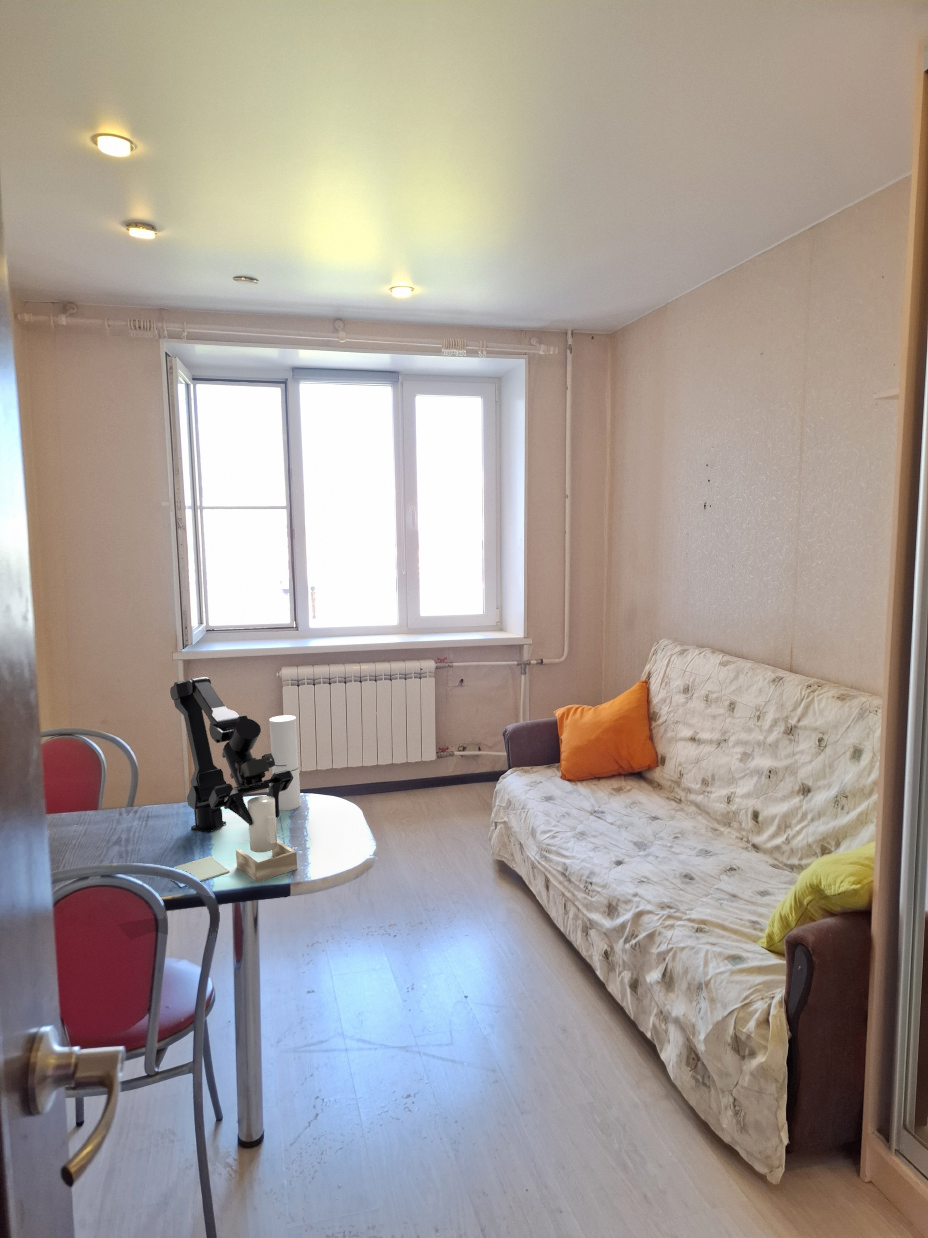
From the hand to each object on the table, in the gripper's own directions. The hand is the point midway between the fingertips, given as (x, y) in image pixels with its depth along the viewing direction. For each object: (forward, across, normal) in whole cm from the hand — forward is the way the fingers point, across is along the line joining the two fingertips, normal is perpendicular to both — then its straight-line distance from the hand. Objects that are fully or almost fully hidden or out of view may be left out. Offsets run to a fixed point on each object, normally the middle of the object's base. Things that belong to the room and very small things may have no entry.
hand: (264, 820), depth 172 cm
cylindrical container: (-16, +22, +32) cm, 42 cm away
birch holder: (+7, 0, +9) cm, 11 cm away
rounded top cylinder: (+4, 0, +5) cm, 7 cm away
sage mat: (+1, -13, +15) cm, 20 cm away
